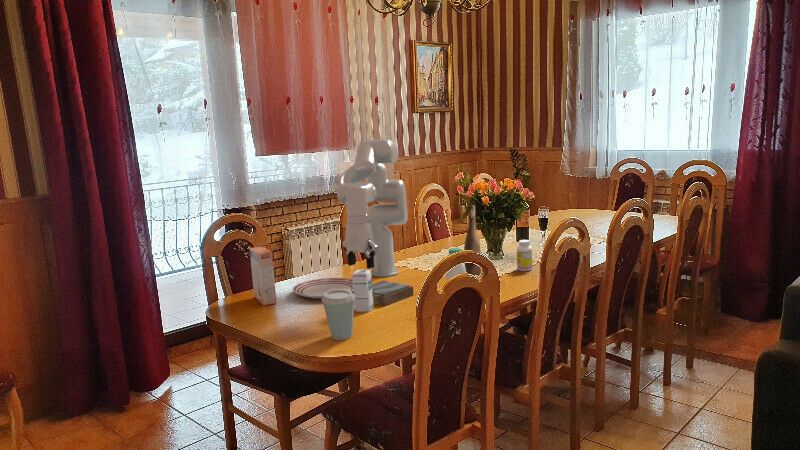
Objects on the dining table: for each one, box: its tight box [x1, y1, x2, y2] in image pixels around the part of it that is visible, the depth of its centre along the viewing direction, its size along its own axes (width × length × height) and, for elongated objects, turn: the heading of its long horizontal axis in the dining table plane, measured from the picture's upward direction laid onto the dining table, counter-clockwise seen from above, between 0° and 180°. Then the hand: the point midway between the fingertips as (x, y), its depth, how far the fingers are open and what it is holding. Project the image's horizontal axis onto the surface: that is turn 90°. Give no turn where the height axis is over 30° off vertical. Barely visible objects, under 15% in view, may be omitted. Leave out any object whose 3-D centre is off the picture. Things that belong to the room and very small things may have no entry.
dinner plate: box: [292, 277, 354, 300], centre depth 243 cm, size 27×27×3 cm
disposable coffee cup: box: [321, 289, 355, 341], centre depth 190 cm, size 11×11×15 cm
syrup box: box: [351, 268, 375, 313], centre depth 217 cm, size 6×6×14 cm
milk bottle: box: [445, 247, 466, 281], centre depth 220 cm, size 8×8×20 cm
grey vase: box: [463, 204, 482, 276], centre depth 246 cm, size 11×12×32 cm
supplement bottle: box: [516, 239, 533, 272], centre depth 260 cm, size 7×7×13 cm
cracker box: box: [249, 246, 277, 307], centre depth 235 cm, size 14×6×21 cm, turn 27°
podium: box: [372, 280, 414, 307], centre depth 232 cm, size 16×16×4 cm
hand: (361, 266), depth 215 cm, fingers open, 9 cm apart
